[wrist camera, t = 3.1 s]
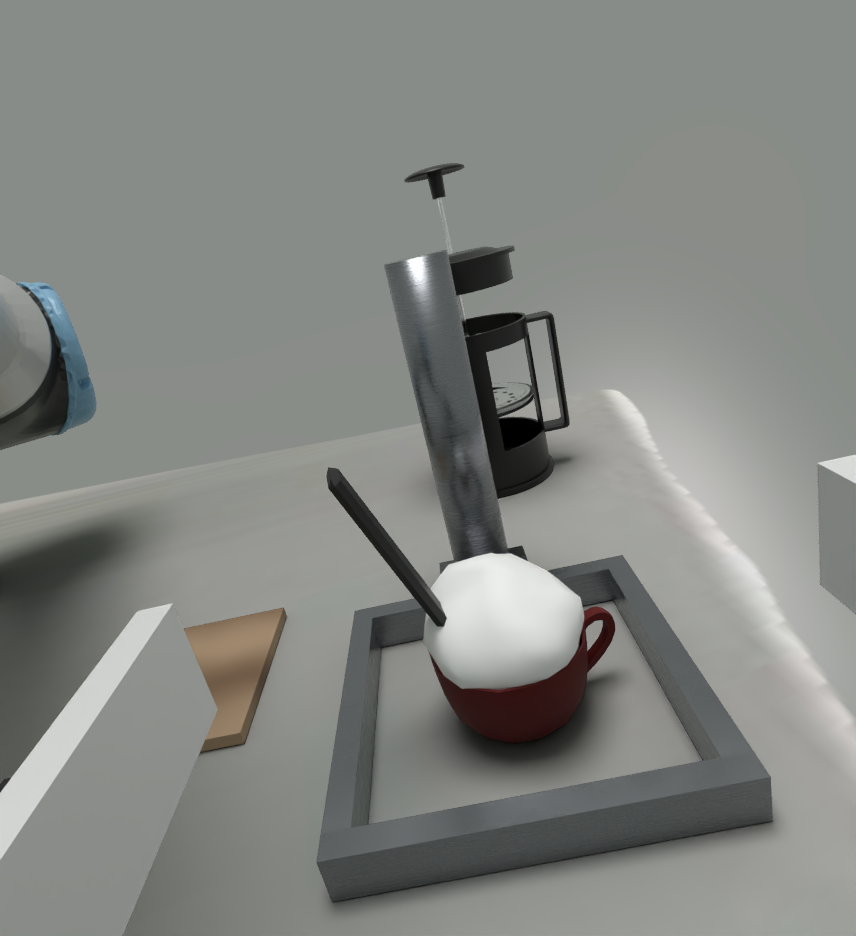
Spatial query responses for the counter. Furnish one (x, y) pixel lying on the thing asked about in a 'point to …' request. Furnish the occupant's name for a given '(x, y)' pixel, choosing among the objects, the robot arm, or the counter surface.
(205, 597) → the counter surface
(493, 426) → the french press
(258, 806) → the counter surface
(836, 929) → the counter surface
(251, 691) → the walnut coaster
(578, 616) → the cocoa
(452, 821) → the ring stand
